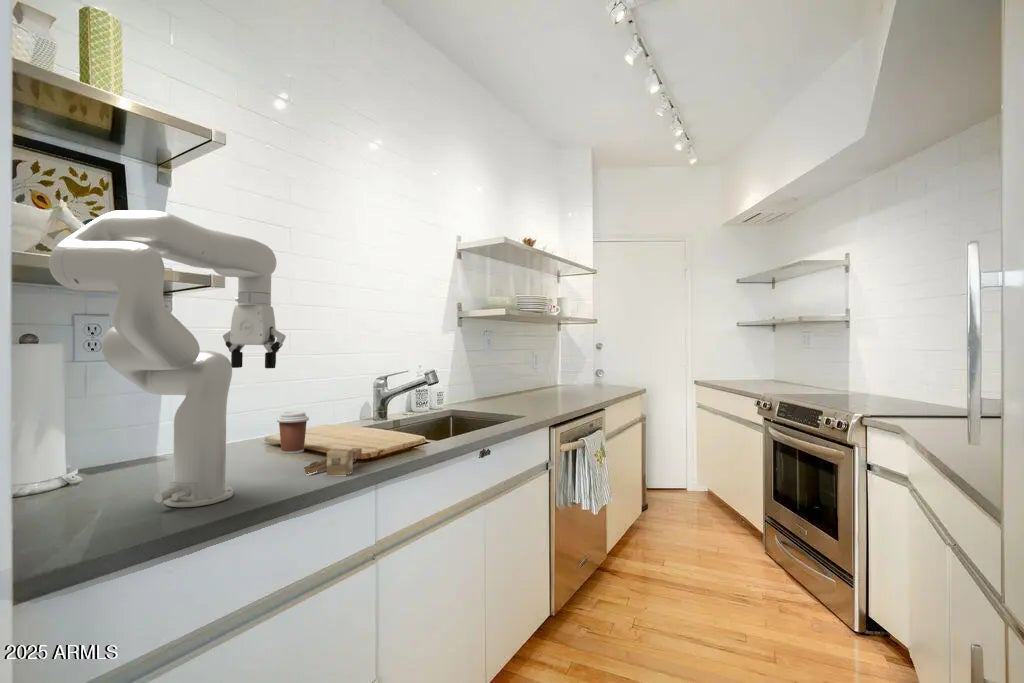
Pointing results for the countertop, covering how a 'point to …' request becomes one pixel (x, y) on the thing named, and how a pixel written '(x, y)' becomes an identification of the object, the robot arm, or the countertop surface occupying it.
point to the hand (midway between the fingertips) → (253, 367)
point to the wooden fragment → (318, 466)
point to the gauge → (342, 460)
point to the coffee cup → (292, 431)
